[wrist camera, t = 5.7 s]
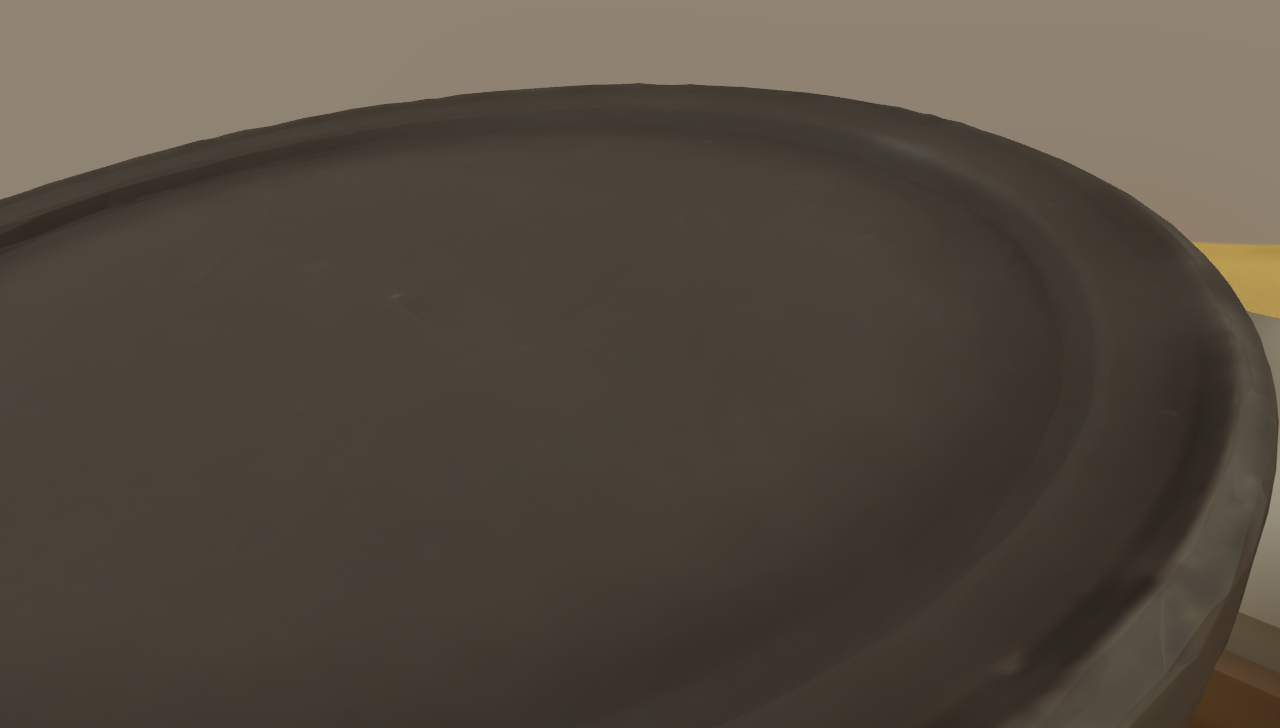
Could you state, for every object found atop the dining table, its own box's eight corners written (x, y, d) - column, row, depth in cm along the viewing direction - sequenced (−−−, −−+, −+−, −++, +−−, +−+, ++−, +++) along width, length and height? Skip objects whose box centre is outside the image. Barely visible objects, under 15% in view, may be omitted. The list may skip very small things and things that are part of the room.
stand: (623, 554, 27) (600, 371, 24) (875, 376, 34) (878, 219, 31) (1515, 1054, 15) (1643, 801, 13) (1635, 632, 22) (1735, 411, 19)
